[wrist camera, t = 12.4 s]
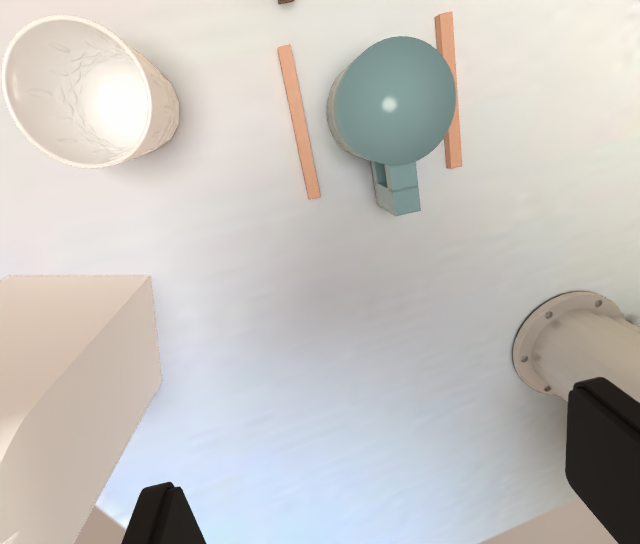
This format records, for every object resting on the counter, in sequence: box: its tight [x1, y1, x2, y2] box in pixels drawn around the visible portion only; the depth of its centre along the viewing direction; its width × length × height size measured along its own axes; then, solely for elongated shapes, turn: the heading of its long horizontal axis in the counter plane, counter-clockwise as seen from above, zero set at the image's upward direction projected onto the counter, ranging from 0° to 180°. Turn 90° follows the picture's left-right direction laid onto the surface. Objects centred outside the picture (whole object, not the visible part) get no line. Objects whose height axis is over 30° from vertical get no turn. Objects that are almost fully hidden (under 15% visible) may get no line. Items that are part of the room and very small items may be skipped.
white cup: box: [1, 15, 179, 169], centre depth 26 cm, size 8×8×10 cm
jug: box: [327, 36, 456, 216], centre depth 30 cm, size 8×12×8 cm
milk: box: [0, 275, 162, 544], centre depth 25 cm, size 12×12×26 cm
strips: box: [278, 12, 462, 200], centre depth 33 cm, size 14×12×1 cm
